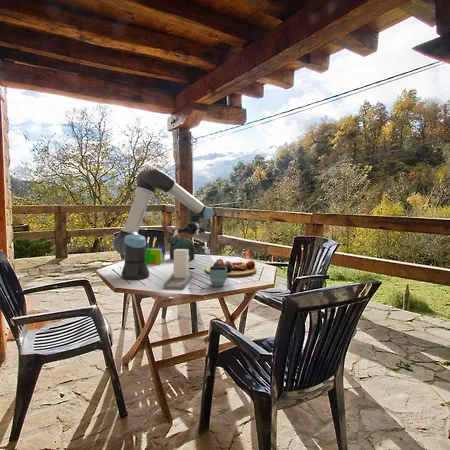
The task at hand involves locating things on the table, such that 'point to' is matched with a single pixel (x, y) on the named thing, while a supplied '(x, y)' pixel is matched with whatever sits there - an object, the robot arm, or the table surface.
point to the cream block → (181, 263)
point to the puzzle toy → (155, 255)
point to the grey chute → (177, 282)
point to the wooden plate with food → (234, 268)
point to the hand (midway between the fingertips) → (185, 233)
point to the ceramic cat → (181, 245)
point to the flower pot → (218, 275)
